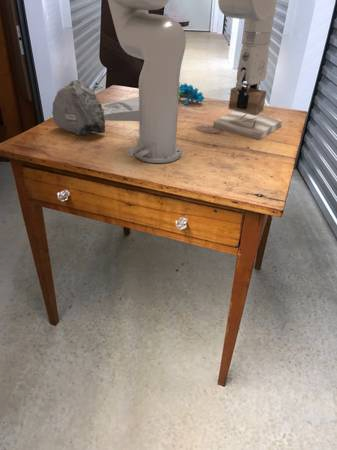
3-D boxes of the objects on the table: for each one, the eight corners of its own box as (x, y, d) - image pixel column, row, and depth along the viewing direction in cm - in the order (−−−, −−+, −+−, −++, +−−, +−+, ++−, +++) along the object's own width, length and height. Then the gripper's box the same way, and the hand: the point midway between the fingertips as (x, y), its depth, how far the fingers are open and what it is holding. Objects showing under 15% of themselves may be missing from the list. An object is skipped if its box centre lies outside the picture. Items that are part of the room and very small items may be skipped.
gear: (209, 100, 132) (196, 82, 125) (202, 114, 132) (187, 97, 124) (188, 97, 139) (174, 80, 132) (180, 110, 139) (166, 94, 132)
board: (259, 139, 106) (260, 133, 105) (213, 127, 113) (213, 120, 112) (281, 126, 116) (282, 120, 115) (237, 115, 124) (238, 109, 123)
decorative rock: (108, 136, 104) (105, 82, 95) (92, 143, 99) (88, 87, 90) (67, 124, 111) (61, 72, 102) (51, 130, 106) (42, 76, 97)
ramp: (83, 118, 117) (81, 101, 114) (103, 105, 129) (102, 89, 126) (165, 130, 111) (166, 112, 108) (178, 115, 123) (179, 99, 120)
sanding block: (255, 115, 105) (258, 94, 102) (228, 109, 110) (231, 88, 106) (262, 111, 108) (266, 91, 105) (236, 105, 113) (239, 85, 109)
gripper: (254, 44, 90) (243, 115, 101) (281, 37, 102) (269, 102, 112) (228, 40, 94) (220, 110, 104) (257, 34, 105) (247, 97, 116)
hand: (246, 105), depth 108 cm, fingers closed on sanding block, 5 cm apart
